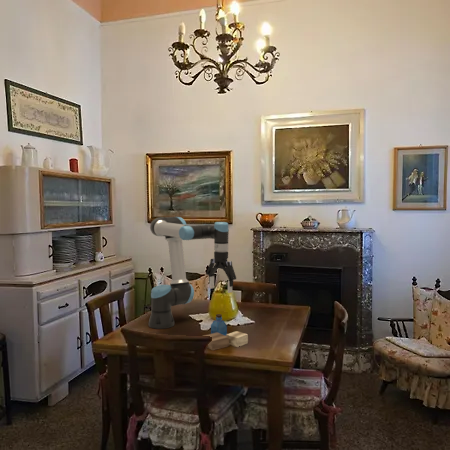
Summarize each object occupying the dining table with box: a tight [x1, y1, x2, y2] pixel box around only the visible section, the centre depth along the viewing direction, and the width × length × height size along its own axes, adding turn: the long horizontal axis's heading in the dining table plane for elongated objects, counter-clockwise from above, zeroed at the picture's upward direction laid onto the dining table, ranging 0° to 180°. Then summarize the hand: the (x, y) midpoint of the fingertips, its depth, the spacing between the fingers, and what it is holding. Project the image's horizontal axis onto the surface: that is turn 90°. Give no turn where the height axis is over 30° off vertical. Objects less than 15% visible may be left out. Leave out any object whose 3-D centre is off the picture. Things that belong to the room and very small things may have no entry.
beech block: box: [226, 330, 249, 348], centre depth 224 cm, size 8×8×5 cm
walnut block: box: [203, 332, 230, 351], centre depth 221 cm, size 10×10×5 cm
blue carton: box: [210, 313, 228, 336], centre depth 235 cm, size 6×6×12 cm
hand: (220, 290), depth 231 cm, fingers open, 13 cm apart
